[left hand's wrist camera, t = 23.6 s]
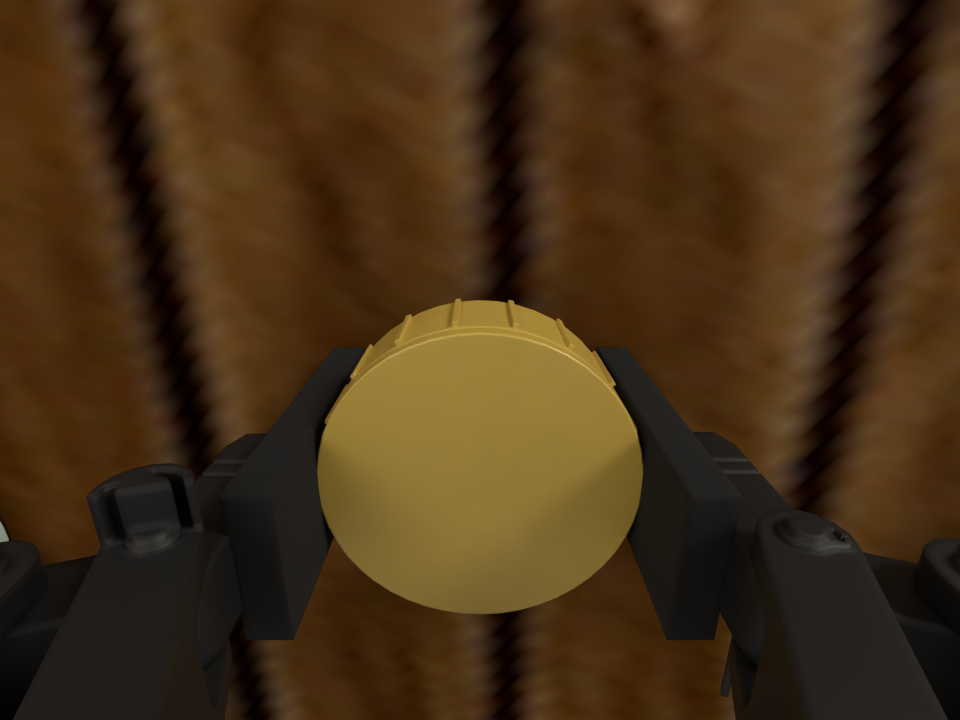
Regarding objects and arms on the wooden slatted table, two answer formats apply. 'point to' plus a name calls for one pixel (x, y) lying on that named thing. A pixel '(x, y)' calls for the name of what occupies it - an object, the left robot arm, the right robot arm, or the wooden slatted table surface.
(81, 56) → the wooden slatted table surface
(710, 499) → the left robot arm
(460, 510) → the lid
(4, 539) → the pale green bottle
